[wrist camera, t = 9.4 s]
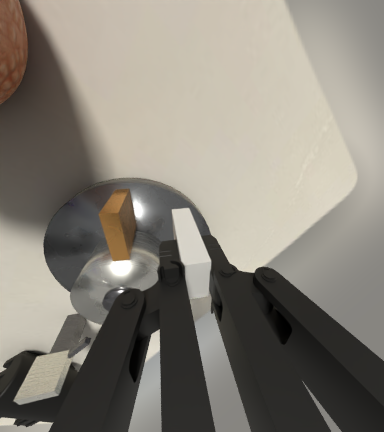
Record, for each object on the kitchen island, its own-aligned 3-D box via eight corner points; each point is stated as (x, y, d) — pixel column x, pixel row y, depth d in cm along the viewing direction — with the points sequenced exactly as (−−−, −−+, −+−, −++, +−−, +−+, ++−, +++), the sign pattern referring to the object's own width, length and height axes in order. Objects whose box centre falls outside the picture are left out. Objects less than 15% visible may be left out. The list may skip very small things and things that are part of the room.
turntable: (83, 305, 23) (58, 367, 17) (22, 183, 15) (-71, 219, 9) (205, 285, 26) (220, 332, 20) (211, 173, 18) (239, 196, 12)
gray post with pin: (66, 324, 25) (27, 409, 17) (54, 304, 23) (2, 393, 15) (110, 316, 26) (91, 394, 18) (102, 297, 24) (76, 376, 16)
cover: (112, 291, 20) (97, 339, 16) (78, 241, 17) (44, 285, 12) (175, 274, 21) (178, 316, 16) (155, 221, 17) (152, 256, 12)
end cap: (86, 359, 31) (69, 414, 25) (57, 375, 31) (33, 433, 25) (34, 341, 26) (-3, 404, 20) (1, 361, 26) (-44, 427, 20)
